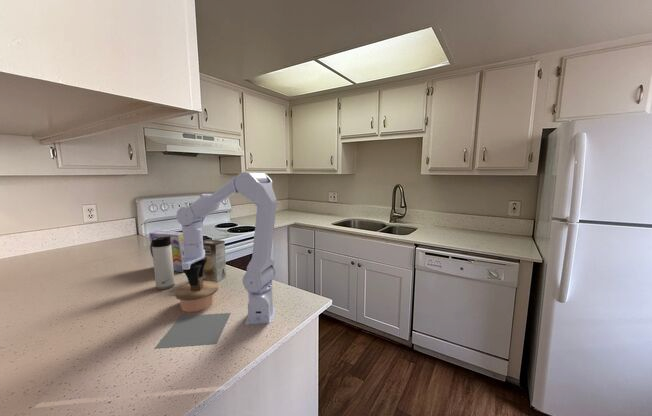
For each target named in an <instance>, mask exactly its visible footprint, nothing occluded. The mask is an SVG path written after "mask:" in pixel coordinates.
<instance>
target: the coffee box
mask: <svg viewBox="0 0 652 416" xmlns="http://www.w3.org/2000/svg"><path fill="white" fill-rule="evenodd" d="M225 244H226V243H225V240H221V239H210V238H206V239H203V249H204V250H205V257H204V258H207V262H206V264H205V267H204V272H203V281H213V282H216V283H218V282H220V281H222V280H224V279H225V278H226V277H227V266H226V265H227V264H226V247H225V246H226V245H225Z"/></svg>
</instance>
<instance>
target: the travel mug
mask: <svg viewBox="0 0 652 416" xmlns="http://www.w3.org/2000/svg"><path fill="white" fill-rule="evenodd" d="M152 251H153V257H152V260H153V261H152V262H154V263H153V270H154V278H155V279H154V281H155V288H156V290H160V291H163V290H167V289H168V290H169V289H171V288H174V286H175V285H176V284H175V271H174V270H173V259H172V247H171V238H170V236H167V237H160V238H157V239H154V240H152Z"/></svg>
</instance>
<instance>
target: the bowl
mask: <svg viewBox="0 0 652 416" xmlns="http://www.w3.org/2000/svg"><path fill="white" fill-rule="evenodd" d="M215 301H216V300H215V293H214V294H212V295H210V296H208V297H205V298H202V299H197V300H187V301H186V300H179V305H180V306H179V307H180V310H181V311H184V312H187V313H188V312H191V313H192V312H193V313H194V312H200V311H203V310H205V309H208V308H210V307H211V306H213V304H214V303H215Z"/></svg>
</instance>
